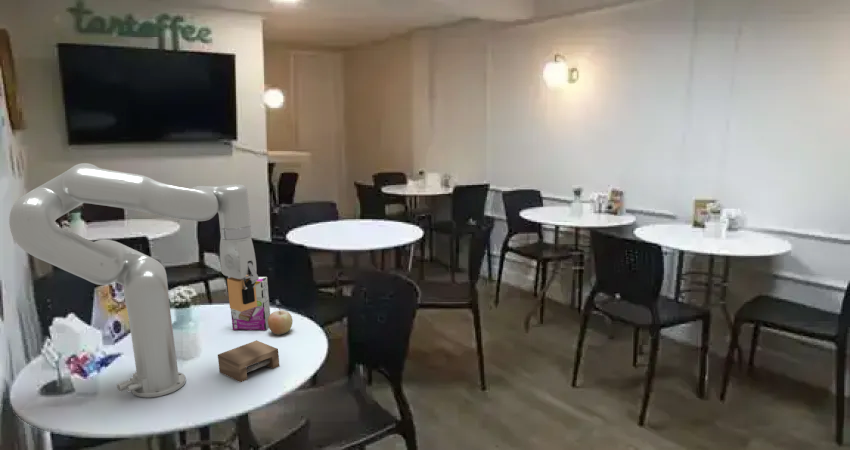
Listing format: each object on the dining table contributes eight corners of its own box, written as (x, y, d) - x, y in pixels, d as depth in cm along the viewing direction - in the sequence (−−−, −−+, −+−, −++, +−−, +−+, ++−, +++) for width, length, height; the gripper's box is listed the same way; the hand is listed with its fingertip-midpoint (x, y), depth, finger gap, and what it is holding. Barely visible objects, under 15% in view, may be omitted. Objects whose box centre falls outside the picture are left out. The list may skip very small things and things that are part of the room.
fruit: (271, 328, 193) (269, 304, 191) (294, 327, 193) (292, 303, 191) (266, 338, 185) (264, 313, 183) (291, 337, 185) (288, 311, 184)
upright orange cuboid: (240, 311, 157) (237, 281, 156) (229, 308, 160) (226, 278, 159) (257, 306, 161) (254, 277, 159) (246, 302, 164) (243, 274, 162)
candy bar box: (232, 330, 192) (226, 280, 189) (238, 325, 197) (233, 276, 194) (266, 331, 191) (261, 280, 188) (272, 325, 196) (267, 275, 192)
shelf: (240, 382, 156) (238, 364, 155) (219, 372, 163) (217, 354, 162) (279, 366, 165) (278, 348, 164) (258, 357, 172) (256, 340, 170)
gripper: (204, 232, 159) (212, 298, 163) (242, 240, 148) (249, 311, 152) (230, 226, 165) (236, 291, 168) (268, 234, 154) (274, 303, 158)
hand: (242, 300), depth 160 cm, fingers closed on upright orange cuboid, 5 cm apart
